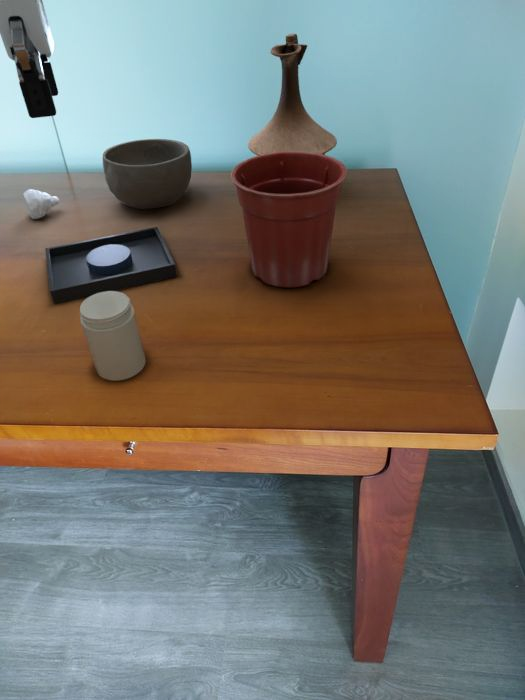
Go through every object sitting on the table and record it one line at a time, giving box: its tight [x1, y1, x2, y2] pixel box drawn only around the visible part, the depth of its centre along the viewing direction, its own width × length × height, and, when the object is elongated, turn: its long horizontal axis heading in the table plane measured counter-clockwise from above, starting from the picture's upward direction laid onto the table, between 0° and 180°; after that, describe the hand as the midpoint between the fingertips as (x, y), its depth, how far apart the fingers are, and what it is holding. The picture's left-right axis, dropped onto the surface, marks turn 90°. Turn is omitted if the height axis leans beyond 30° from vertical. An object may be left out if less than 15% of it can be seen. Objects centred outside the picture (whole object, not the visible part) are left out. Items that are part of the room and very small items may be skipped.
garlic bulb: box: [22, 188, 60, 220], centre depth 102 cm, size 6×6×5 cm
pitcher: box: [247, 33, 338, 156], centre depth 99 cm, size 18×17×28 cm
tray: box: [44, 226, 178, 305], centre depth 87 cm, size 19×14×2 cm
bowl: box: [102, 138, 193, 210], centre depth 105 cm, size 17×18×10 cm
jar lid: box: [86, 244, 132, 275], centre depth 86 cm, size 7×7×2 cm
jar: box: [79, 290, 147, 382], centre depth 66 cm, size 6×6×10 cm
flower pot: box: [230, 151, 347, 289], centre depth 80 cm, size 16×16×16 cm
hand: (45, 105), depth 68 cm, fingers open, 9 cm apart
